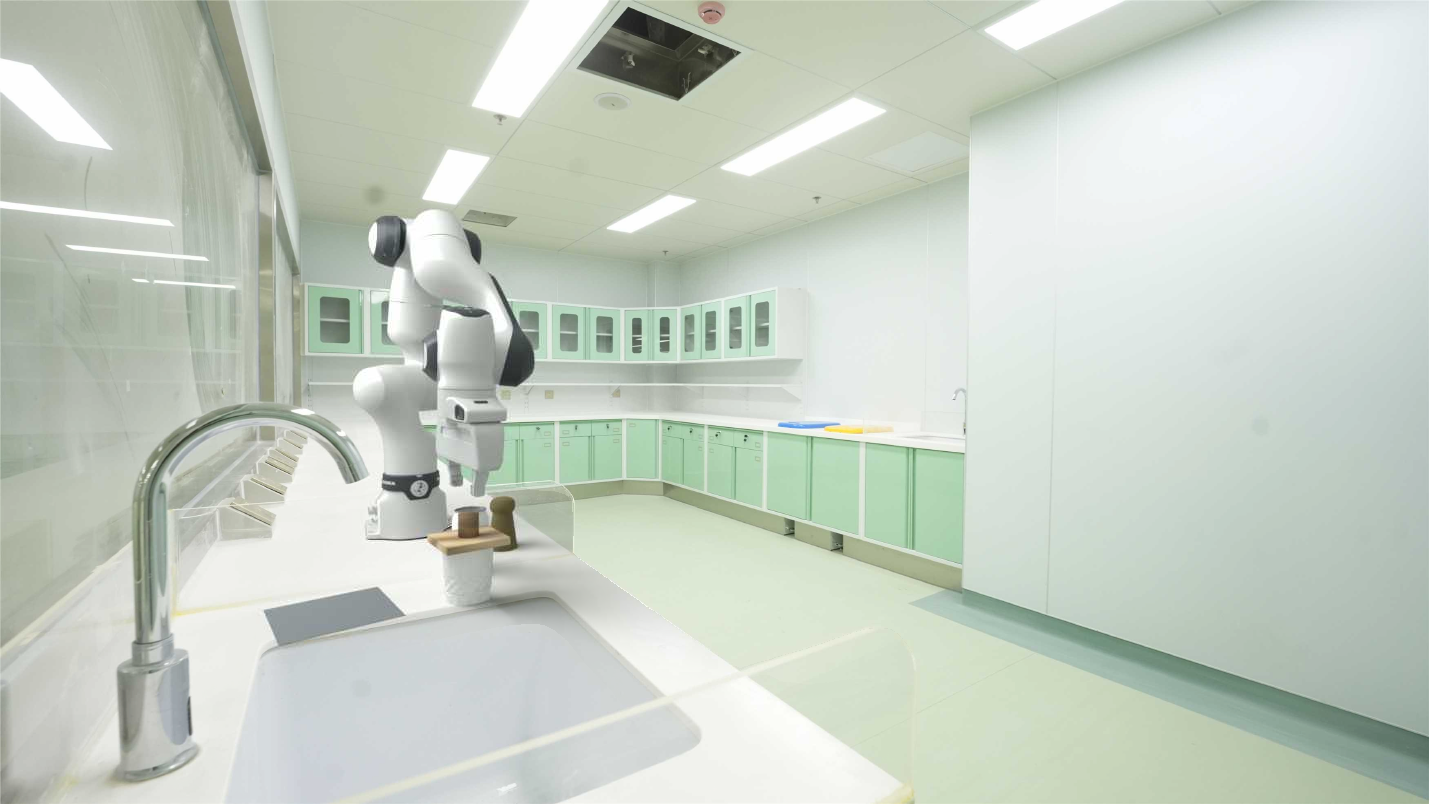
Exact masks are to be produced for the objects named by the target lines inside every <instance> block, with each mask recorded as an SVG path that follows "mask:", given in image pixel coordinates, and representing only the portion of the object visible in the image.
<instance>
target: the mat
mask: <svg viewBox="0 0 1429 804" xmlns="http://www.w3.org/2000/svg"><path fill="white" fill-rule="evenodd" d="M263 613H264V614H265V617H266V620H267V622H268V624H269V626H270V628H271V631H272V634H273V635H274V638H275V640H276V643H277V645H278V646H279V647H280V646H284V645H288V644H293V643H297V642H301V641H302V642H303V641H305V640H309V639H313V638H317V637H322V636H325V635H330V634H334V633H339V632H344V631H347V630H351V629H356V628H359V627H363V626H367V625H372V624H377V623H380V622H384V621H388V620H392V619H397V618H401V617H404V616H405V617H406V614H405V613H404V611H402V610H401V608H399V606H397V604H395V603H394V602H393V601H392V600H391V599H390V598H389V596H387V594H385V592H384V591H383V590H382V589H381V588H379V586H374V587H368V588H363V589H358V590H355V591H354V590H353V591H349V592H344V593H340V594H336V595H334V594H333V595H330V596H324V597H320V598H315V599H311V600H305V601H301V602H296V603H292V604H287V605H285V604H284V605H281V606H276V607H270V608H267V609H263Z"/></svg>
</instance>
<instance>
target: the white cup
mask: <svg viewBox="0 0 1429 804" xmlns="http://www.w3.org/2000/svg"><path fill="white" fill-rule="evenodd" d="M442 564H443V565H442V567H443V568H442V569H443V579H444V588H445V596H446V597H445V598H446V599H445V600H446V603H448V604H449V605H452V606H456V607H457V606H458V607H462V606H463V607H466V606H472V605H478V604H482V603H484V602H486V601H488V602H491V601H490V600H491V590H492V583H493V581H492V580H493V571H494V569H493V568H494V567H493V565H494V552H493V548H488V549H483V550H477V551H472V552H466V553H461V554H455V555H450V556H447V555H445V554H444V553H442Z"/></svg>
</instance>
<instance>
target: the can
mask: <svg viewBox="0 0 1429 804" xmlns="http://www.w3.org/2000/svg"><path fill="white" fill-rule="evenodd" d="M464 512H477V513H479V526H483V525H488V526H490V525H489V522H490V521H489V519H490V517H489V514H488V511H487V508H486V506H480V505H469V506H461V507H458V508H455V509H454V514H453V516H452V517H451V520H452V526H451V530H458V514H460V513H464Z"/></svg>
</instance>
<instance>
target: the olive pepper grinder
mask: <svg viewBox="0 0 1429 804" xmlns="http://www.w3.org/2000/svg"><path fill="white" fill-rule="evenodd" d="M515 509H516V500H515V498H513V497H511V496H505V495H503V496H497V497H493V498H492V499H491V501H490V502H489V510H490V512H491V522H490V527H492V528H494V529H496V530H498V531H500V532H501V533H503V534H505V535H507V536H509V537H510V545H505V546H499V547H494V548H493V553H504V552H510V551H514V550H516V549H517V548H518V541H517V533H516V526H515V519H514V513H513V512H514V511H515Z"/></svg>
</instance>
